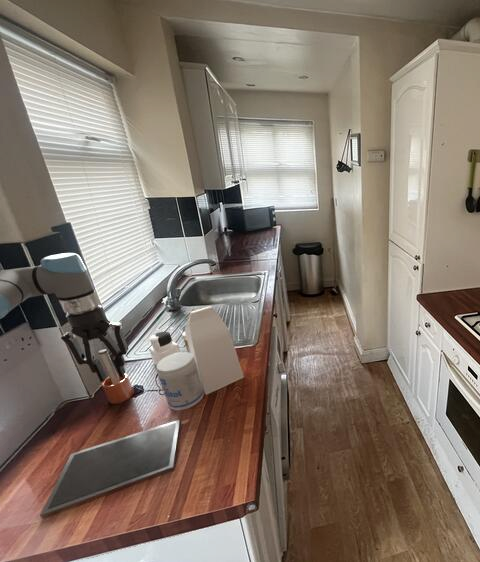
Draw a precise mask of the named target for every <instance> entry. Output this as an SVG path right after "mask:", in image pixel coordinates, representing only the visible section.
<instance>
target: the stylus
mask: <svg viewBox="0 0 480 562" xmlns="http://www.w3.org/2000/svg"><path fill="white" fill-rule="evenodd" d="M98 354H99V357H100V359H101V361H102V364H103V365H104V369H105V370H106V372H107V374H108V377H110V379H111V381H112V383H113V385H114V384H116V383H119V382H120V380H119V377H118V375H117V374H118V372H117V369H116V367H115V365H114V362H113V360H112V359H111V357H110V355H109V352H108V350H107V348H102V349H100V350H99V351H98Z"/></svg>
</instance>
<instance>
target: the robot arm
mask: <svg viewBox="0 0 480 562" xmlns="http://www.w3.org/2000/svg"><path fill="white" fill-rule="evenodd" d="M50 294H55V296H56V298H57V300H58V302H59V304H60V305H61V308H62V310H63V312H64V313H65V318H66V319H67V321H68V324H69V326H70V327H71V329H70V331H66V332H64V333H63V335H62V336H61V337H60V339H61V341H63V343H65V344H66V345H67V347H68V348H69V351H70V352H71V353H72V355H73V358H74V359H75V362H76V363H77V364H78V365H80V366H81V365H88V367H89V369H90V371H91V373H93V374H96V375H97V377H98V379H99V382H100V383H102V382H104V381H105V379H107V378H108V376H107V373H106V371H105V370H104V369H105V368H104V367H103V363H102V362H101V360H100V358H96V357H97V356H96V355H95V348H94V340H96V339H97V340H98V339H99V341H100V342H102V343H103V344H104V346H105V347H106V349H108V350H109V352H110V353H111V354H112V356H113V358H112V363H113V365H114V368H115V370H116V372H117V374H119V376H120V377H123V376H124V374H125V373H126V369H125V367H124V366H125V365H126V360H125V357H124V355H127V353H128V351H129V346H128V343H127V341H126V337H125V334H124V331H123V322H122V321H118V322H111V321H110V320H109V319H108V318H107V316H106V313H105V311H104V308H103V306H102V305H101V301H100V299H99V296H98V294H97V292H96V290H95V287H94V286H93V282H92V279H91V278H90V275H89V272H88V269H87V267H86V265H85V264H84V262H83V259H82V257H81V256H80V255H79V254H77V253H75V252H64V253H57V254H51V255H47V256H45V257H43V258H42V259H40V265H35V266H28V267H19V268H11V269H0V320H1V319H3V318H5V317H6V316H7V315H8V314H9V313H10V312H11V311H12V310H13V309H15V308H16V307H18V306H20V304H22V303H23V302H25V301H26V300H27V299H29V298H33V297H40V296H44V295H50ZM109 328H111V330H112V331H113V333H114V338H115V339H116V341H115V340H114V339H113V338H112V337H111V334H110V332H109ZM76 336H77V337H79V338H81V339H82V344H83V347H84V350H83V349H82V347H81V345H80V343H79V341H78V340H77V338H76ZM116 342H117V343H116Z"/></svg>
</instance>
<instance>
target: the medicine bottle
mask: <svg viewBox="0 0 480 562" xmlns="http://www.w3.org/2000/svg"><path fill="white" fill-rule="evenodd" d="M149 341H150V344H151V346H150V347H148V351H149V354H150V356H151V359H152V361H153V364H154V365H155V366H156V367H157V364H158V363H159V362H160V361H161V360H162V359H164V358H165V357H167V356H169V355H172V354H175V353H179V352H181V349H180V346H179V344H178V343H176V342H175V341H173V338H172V335H171V333H170V332H169V331H159V332H156V333H155V334H153V335H151V336H150V338H149Z"/></svg>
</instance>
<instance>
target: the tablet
mask: <svg viewBox="0 0 480 562" xmlns="http://www.w3.org/2000/svg"><path fill="white" fill-rule="evenodd" d="M181 426H182V420H181V419H176V420H173V421H171V422H167V423H164V424H161V425H157V426H155V427H151V428H147V429H145V430H142V431H139V432H135V433H132V434H130V435H126V436H123V437H119V438H117V439H113V440H110V441H107V442H104V443H101V444H96V445H93V446H91V447H87V448H84V449H82V450H77V451H75V452H72V453H71V454H70V455H69V457H68V458H67V461H66V462H65V464H64V467H63V469H62V470H61V473H60V475H59V477H58V478H57V481H56V483H55V484H54V487H53V489H52V491H51V493H50V494H49V496H48V499H47V500H46V502H45V505H44V506H43V508H42V510H41V512H40V514H39V517H40V518H41V520H42V519H45V518H49V517H51V516H53V515H56V514H59V513H63V512H65V511H67V510H70V509H72V508H76V507H78V506H80V505H83V504H86V503H89V502H91V501H94V500H97V499H99V498H103V497H105V496H108V495H111V494H113V493H116V492H119V491H122V490H125V489H128V488H129V487H133V486H135V485H138V484H140V483H144V482H146V481H149V480H151V479H153V478H157V477H160V476H162V475H164V474H168V473H170V472H172V471H175V469H176V462H177V455H178V447H179V441H180V435H181V428H182V427H181Z"/></svg>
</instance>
